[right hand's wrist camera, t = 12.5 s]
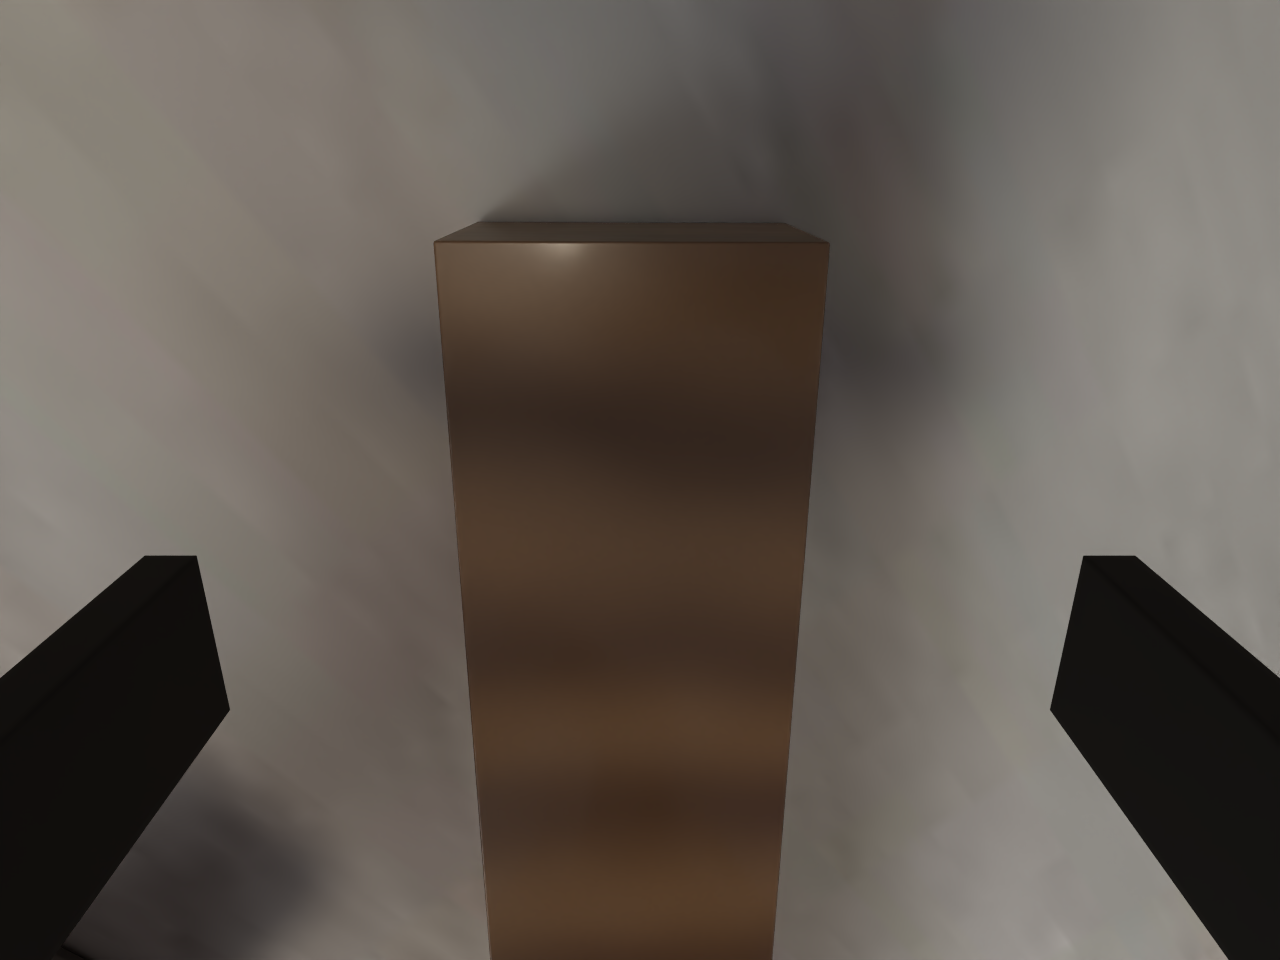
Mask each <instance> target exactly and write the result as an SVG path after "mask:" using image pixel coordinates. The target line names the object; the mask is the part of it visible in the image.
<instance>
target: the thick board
mask: <svg viewBox="0 0 1280 960" xmlns="http://www.w3.org/2000/svg"><path fill="white" fill-rule="evenodd" d="M829 249H830V243H829V242H827V241H824V240H822V239H820V238H818V237H815V236H813V235H811V234H809V233H806V232H804V231H802V230H800V229H797V228H795V227H793V226H790V225H788V224H786V223H603V222H477V223H475V224H472V225H470V226H468V227H466V228H463V229H461V230H459V231H456V232H454V233H452V234H450V235H447V236H445V237H443V238H441V239H438V240H436V241H434V254H435V267H436V280H437V292H438V305H439V318H440V330H441V343H442V356H443V368H444V381H445V393H446V406H447V419H448V431H449V444H450V457H451V469H452V482H453V495H454V507H455V520H456V532H457V545H458V558H459V570H460V583H461V596H462V608H463V621H464V634H465V646H466V659H467V671H468V684H469V697H470V709H471V722H472V735H473V747H474V760H475V773H476V785H477V798H478V811H479V823H480V836H481V848H482V861H483V874H484V886H485V899H486V912H487V924H488V937H489V950H490V960H772V956H773V943H774V931H775V918H776V906H777V894H778V881H779V869H780V856H781V844H782V832H783V819H784V807H785V794H786V782H787V770H788V757H789V745H790V733H791V720H792V708H793V695H794V683H795V671H796V658H797V646H798V633H799V621H800V609H801V596H802V584H803V571H804V559H805V547H806V534H807V522H808V509H809V497H810V485H811V472H812V460H813V447H814V435H815V423H816V410H817V398H818V386H819V373H820V361H821V348H822V336H823V324H824V311H825V299H826V286H827V274H828V262H829Z"/></svg>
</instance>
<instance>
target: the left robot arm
mask: <svg viewBox="0 0 1280 960" xmlns="http://www.w3.org/2000/svg"><path fill="white" fill-rule="evenodd" d="M51 960H84V959H82V958H80V957H79V956H77V955H75V954H73V953H71V952H69V951H67V950H65V949H63V948H61V947H60V948H59V950H58V951H57V952H56V954H55V955H54V957H53V958H52V959H51Z"/></svg>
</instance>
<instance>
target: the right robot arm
mask: <svg viewBox="0 0 1280 960" xmlns="http://www.w3.org/2000/svg"><path fill="white" fill-rule="evenodd" d="M229 710H230V708H229V703H228V698H227V694H226V689H225V685H224V680H223V675H222V671H221V666H220V662H219V657H218V652H217V648H216V643H215V638H214V634H213V629H212V625H211V620H210V615H209V611H208V606H207V602H206V597H205V592H204V588H203V583H202V578H201V574H200V569H199V565H198V560H197V556H144V557H143V558H142V559H140V560H139V561H138V562H137V563H136V564H134V565H133V566H132V567H131V568H130V569H129V570H127V571H126V572H125V573H124V574H123V575H121V576H120V577H119V578H118V579H117V580H116V581H114V582H113V583H112V584H111V585H110V586H108V587H107V588H106V589H105V590H104V591H103V592H101V593H100V594H99V595H98V596H97V597H95V598H94V599H93V600H92V601H91V602H90V603H88V604H87V605H86V606H85V607H84V608H82V609H81V610H80V611H79V612H78V613H77V614H75V615H74V616H73V617H72V618H71V619H70V620H68V621H67V622H66V623H65V624H64V625H62V626H61V627H60V628H59V629H58V630H57V631H55V632H54V633H53V634H52V635H51V636H49V637H48V638H47V639H46V640H45V641H44V642H42V643H41V644H40V645H39V646H38V647H36V648H35V649H34V650H33V651H32V652H31V653H29V654H28V655H27V656H26V657H25V658H23V659H22V660H21V661H20V662H19V663H18V664H16V665H15V666H14V667H13V668H12V669H10V670H9V671H8V672H7V673H6V674H5V675H3V676H2V677H1V678H0V960H51V959H52V958H53V957H54V955H55V954H56V952H57V951H58V950H59V948H60V947H61V945H62V944H63V943H64V941H65V940H66V938H67V937H68V936H69V934H70V933H71V931H72V930H73V929H74V927H75V926H76V924H77V923H78V922H79V920H80V919H81V917H82V916H83V915H84V913H85V912H86V910H87V909H88V908H89V906H90V905H91V903H92V902H93V901H94V899H95V898H96V896H97V895H98V894H99V892H100V891H101V890H102V888H103V887H104V885H105V884H106V883H107V881H108V880H109V878H110V877H111V876H112V874H113V873H114V871H115V870H116V869H117V867H118V866H119V864H120V863H121V862H122V860H123V859H124V857H125V856H126V855H127V853H128V852H129V850H130V849H131V848H132V846H133V845H134V843H135V842H136V841H137V839H138V838H139V836H140V835H141V834H142V832H143V831H144V829H145V828H146V827H147V825H148V824H149V822H150V821H151V820H152V818H153V817H154V815H155V814H156V813H157V811H158V810H159V808H160V807H161V806H162V804H163V803H164V801H165V800H166V799H167V797H168V796H169V794H170V793H171V792H172V790H173V789H174V787H175V786H176V785H177V783H178V782H179V780H180V779H181V778H182V776H183V775H184V773H185V772H186V771H187V769H188V768H189V766H190V765H191V764H192V762H193V761H194V759H195V758H196V757H197V755H198V754H199V752H200V751H201V750H202V748H203V747H204V745H205V744H206V743H207V741H208V740H209V738H210V737H211V736H212V734H213V733H214V731H215V730H216V729H217V727H218V726H219V724H220V723H221V722H222V720H223V719H224V717H225V716H226V715H227V713H228V712H229ZM1050 710H1051V712H1052V713H1053V715H1054V716H1055V717H1056V719H1057V720H1058V722H1059V723H1060V724H1061V726H1062V727H1063V729H1064V730H1065V731H1066V733H1067V734H1068V736H1069V737H1070V738H1071V740H1072V741H1073V743H1074V744H1075V745H1076V747H1077V748H1078V750H1079V751H1080V752H1081V754H1082V755H1083V757H1084V758H1085V759H1086V761H1087V762H1088V764H1089V765H1090V766H1091V768H1092V769H1093V771H1094V772H1095V773H1096V775H1097V776H1098V778H1099V779H1100V780H1101V782H1102V783H1103V785H1104V786H1105V787H1106V789H1107V790H1108V792H1109V793H1110V794H1111V796H1112V797H1113V799H1114V800H1115V801H1116V803H1117V804H1118V806H1119V807H1120V808H1121V810H1122V811H1123V813H1124V814H1125V815H1126V817H1127V818H1128V820H1129V821H1130V822H1131V824H1132V825H1133V827H1134V828H1135V829H1136V831H1137V832H1138V834H1139V835H1140V836H1141V838H1142V839H1143V841H1144V842H1145V843H1146V845H1147V846H1148V848H1149V849H1150V850H1151V852H1152V853H1153V855H1154V856H1155V857H1156V859H1157V860H1158V862H1159V863H1160V864H1161V866H1162V867H1163V869H1164V870H1165V871H1166V873H1167V874H1168V876H1169V877H1170V878H1171V880H1172V881H1173V883H1174V884H1175V885H1176V887H1177V888H1178V890H1179V891H1180V892H1181V894H1182V895H1183V896H1184V898H1185V899H1186V901H1187V902H1188V903H1189V905H1190V906H1191V908H1192V909H1193V910H1194V912H1195V913H1196V915H1197V916H1198V917H1199V919H1200V920H1201V922H1202V923H1203V924H1204V926H1205V927H1206V929H1207V930H1208V931H1209V933H1210V934H1211V936H1212V937H1213V938H1214V940H1215V941H1216V943H1217V944H1218V945H1219V947H1220V948H1221V950H1222V951H1223V952H1224V954H1225V955H1226V957H1227V958H1228V959H1229V960H1280V678H1279V677H1278V676H1277V675H1275V674H1274V673H1273V672H1272V671H1271V670H1270V669H1268V668H1267V667H1266V666H1265V665H1264V664H1262V663H1261V662H1260V661H1259V660H1258V659H1257V658H1255V657H1254V656H1253V655H1252V654H1251V653H1249V652H1248V651H1247V650H1246V649H1245V648H1244V647H1242V646H1241V645H1240V644H1239V643H1238V642H1236V641H1235V640H1234V639H1233V638H1232V637H1231V636H1229V635H1228V634H1227V633H1226V632H1225V631H1223V630H1222V629H1221V628H1220V627H1219V626H1218V625H1216V624H1215V623H1214V622H1213V621H1212V620H1210V619H1209V618H1208V617H1207V616H1206V615H1205V614H1203V613H1202V612H1201V611H1200V610H1199V609H1198V608H1196V607H1195V606H1194V605H1193V604H1192V603H1190V602H1189V601H1188V600H1187V599H1186V598H1185V597H1183V596H1182V595H1181V594H1180V593H1179V592H1177V591H1176V590H1175V589H1174V588H1173V587H1172V586H1170V585H1169V584H1168V583H1167V582H1166V581H1164V580H1163V579H1162V578H1161V577H1160V576H1159V575H1157V574H1156V573H1155V572H1154V571H1153V570H1151V569H1150V568H1149V567H1148V566H1147V565H1146V564H1144V563H1143V562H1142V561H1141V560H1140V559H1138V558H1137V557H1136V556H1083V560H1082V565H1081V569H1080V574H1079V578H1078V583H1077V588H1076V592H1075V597H1074V602H1073V606H1072V611H1071V615H1070V620H1069V625H1068V629H1067V634H1066V638H1065V643H1064V648H1063V652H1062V657H1061V662H1060V666H1059V671H1058V675H1057V680H1056V685H1055V689H1054V694H1053V698H1052V703H1051V708H1050Z"/></svg>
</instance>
